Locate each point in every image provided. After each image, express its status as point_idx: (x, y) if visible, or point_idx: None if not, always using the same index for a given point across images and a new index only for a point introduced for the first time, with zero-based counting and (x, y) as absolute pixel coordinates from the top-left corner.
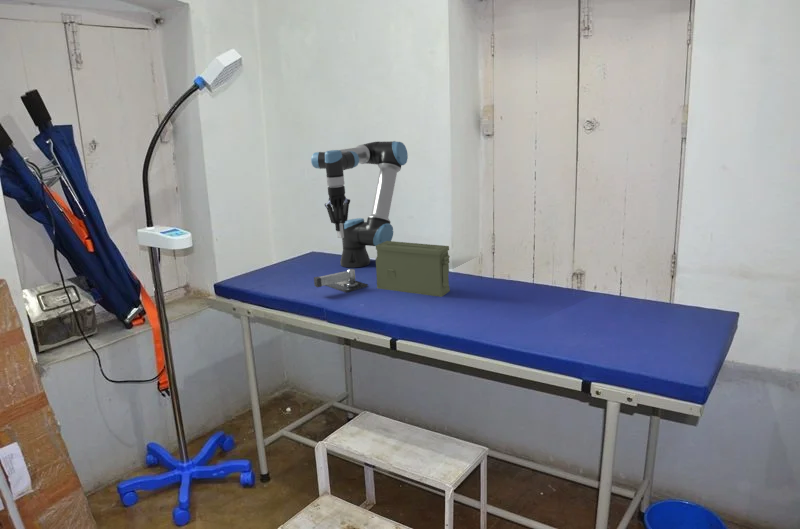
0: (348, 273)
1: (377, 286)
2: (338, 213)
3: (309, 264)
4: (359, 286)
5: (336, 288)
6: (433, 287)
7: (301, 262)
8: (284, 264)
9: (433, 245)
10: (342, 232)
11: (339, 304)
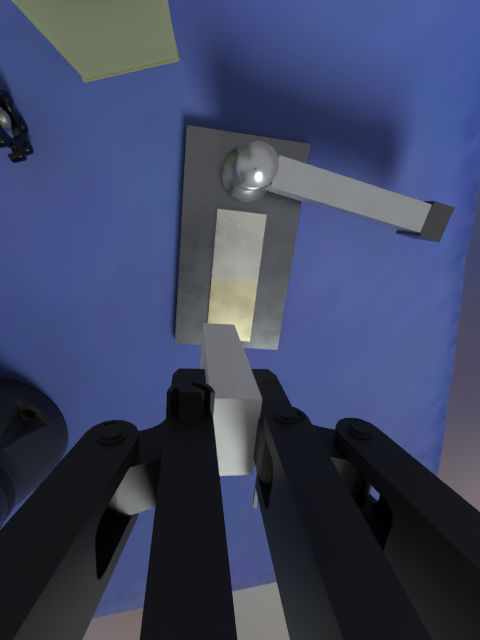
0: (284, 158)
1: (176, 51)
2: (346, 593)
3: (137, 538)
4: (233, 134)
5: (297, 220)
6: None
7: (140, 571)
8: None
9: None
10: (218, 345)
11: (439, 40)
